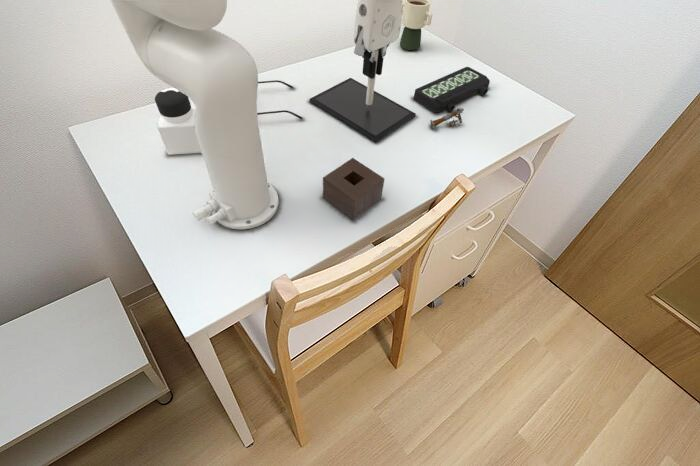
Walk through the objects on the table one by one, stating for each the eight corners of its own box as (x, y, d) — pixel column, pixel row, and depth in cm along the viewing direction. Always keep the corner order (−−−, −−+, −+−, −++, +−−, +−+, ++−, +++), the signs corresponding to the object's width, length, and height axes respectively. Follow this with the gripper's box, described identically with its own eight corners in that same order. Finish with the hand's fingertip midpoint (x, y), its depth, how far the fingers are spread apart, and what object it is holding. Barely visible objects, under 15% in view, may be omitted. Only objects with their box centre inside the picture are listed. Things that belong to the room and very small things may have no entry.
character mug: (430, 50, 116) (441, 3, 106) (417, 57, 112) (426, 10, 102) (402, 37, 120) (409, -9, 110) (388, 44, 116) (394, -3, 106)
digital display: (443, 106, 92) (414, 88, 96) (440, 117, 94) (412, 99, 99) (497, 80, 101) (467, 64, 105) (493, 91, 103) (464, 75, 108)
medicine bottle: (203, 153, 81) (187, 103, 72) (168, 155, 80) (147, 105, 71) (205, 132, 85) (191, 83, 76) (172, 134, 84) (153, 84, 75)
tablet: (375, 143, 86) (376, 139, 86) (309, 102, 95) (309, 98, 94) (415, 116, 94) (416, 113, 93) (350, 80, 102) (350, 77, 102)
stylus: (368, 109, 92) (375, 52, 81) (363, 107, 92) (369, 49, 81) (373, 107, 92) (380, 49, 82) (368, 104, 93) (374, 47, 82)
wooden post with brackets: (466, 122, 92) (464, 108, 88) (435, 137, 93) (432, 123, 89) (463, 118, 93) (461, 104, 89) (433, 132, 94) (429, 119, 90)
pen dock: (353, 220, 72) (355, 200, 68) (322, 197, 75) (322, 177, 71) (381, 198, 76) (384, 178, 71) (351, 178, 79) (352, 157, 75)
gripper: (368, -2, 66) (360, 94, 81) (422, -22, 74) (406, 69, 88) (338, -15, 69) (335, 79, 84) (392, -33, 77) (381, 56, 91)
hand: (371, 73), depth 86 cm, fingers closed on stylus, 1 cm apart
